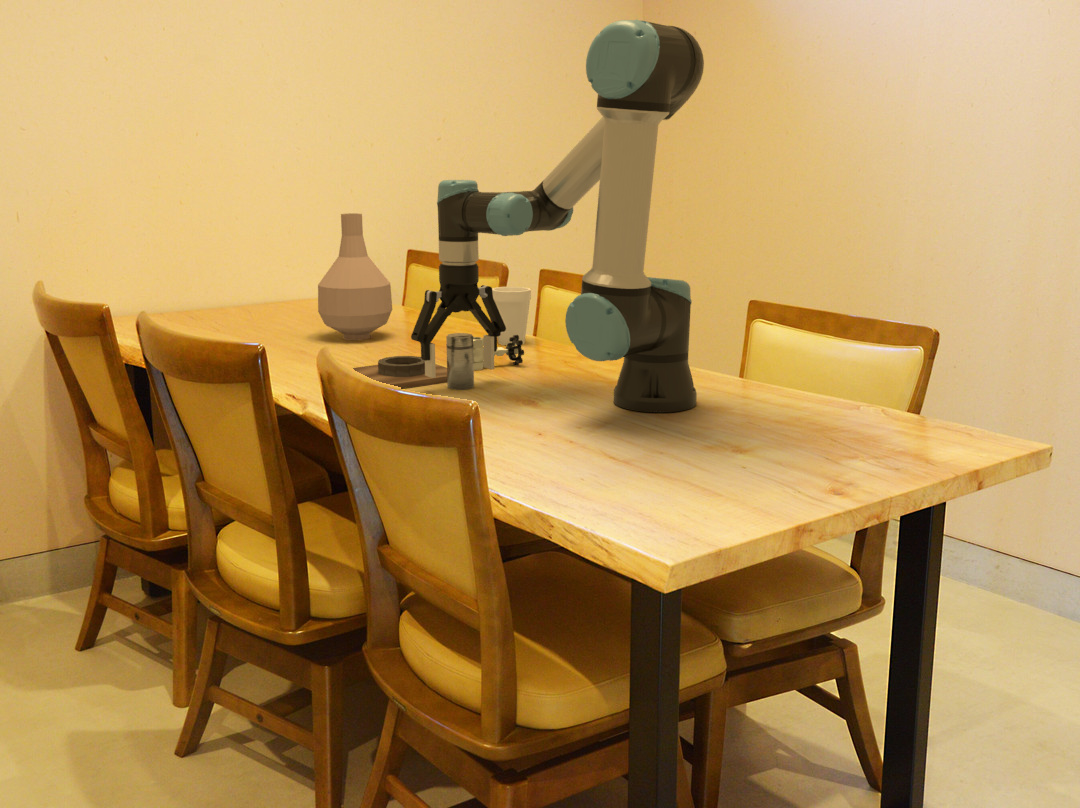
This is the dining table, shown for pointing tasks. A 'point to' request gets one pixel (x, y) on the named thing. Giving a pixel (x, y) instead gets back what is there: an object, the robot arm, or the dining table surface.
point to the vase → (354, 287)
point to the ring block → (403, 372)
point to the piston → (460, 361)
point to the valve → (498, 351)
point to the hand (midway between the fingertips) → (460, 372)
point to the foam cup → (512, 311)
